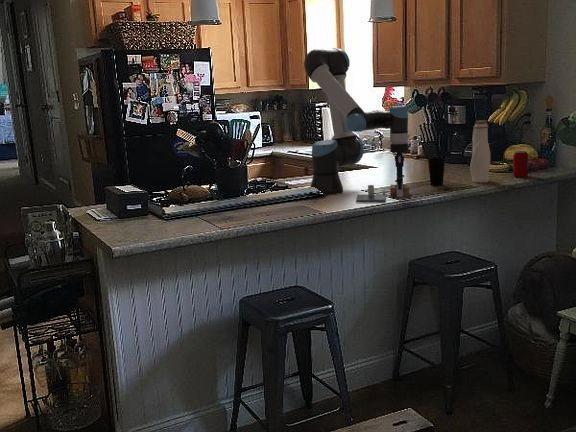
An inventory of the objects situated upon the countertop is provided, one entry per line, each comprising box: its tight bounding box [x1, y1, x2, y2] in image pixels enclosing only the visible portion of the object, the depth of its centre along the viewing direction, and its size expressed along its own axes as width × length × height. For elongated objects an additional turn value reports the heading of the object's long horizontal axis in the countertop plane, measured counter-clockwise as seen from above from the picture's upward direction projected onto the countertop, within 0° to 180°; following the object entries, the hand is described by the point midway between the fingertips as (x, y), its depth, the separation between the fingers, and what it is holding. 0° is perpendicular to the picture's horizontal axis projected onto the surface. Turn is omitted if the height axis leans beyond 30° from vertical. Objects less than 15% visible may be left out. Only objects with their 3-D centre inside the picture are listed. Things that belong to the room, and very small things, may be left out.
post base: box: [355, 184, 387, 203], centre depth 269 cm, size 12×12×6 cm
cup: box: [427, 157, 446, 187], centre depth 294 cm, size 8×8×12 cm
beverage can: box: [512, 150, 529, 178], centre depth 303 cm, size 7×7×12 cm
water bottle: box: [469, 119, 491, 183], centre depth 296 cm, size 10×9×28 cm
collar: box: [389, 183, 410, 198], centre depth 276 cm, size 8×8×4 cm
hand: (399, 194), depth 276 cm, fingers open, 9 cm apart
